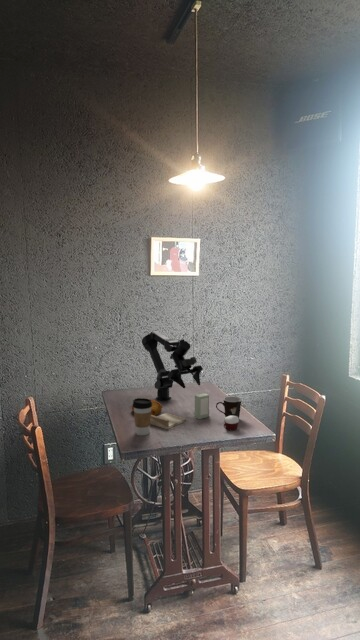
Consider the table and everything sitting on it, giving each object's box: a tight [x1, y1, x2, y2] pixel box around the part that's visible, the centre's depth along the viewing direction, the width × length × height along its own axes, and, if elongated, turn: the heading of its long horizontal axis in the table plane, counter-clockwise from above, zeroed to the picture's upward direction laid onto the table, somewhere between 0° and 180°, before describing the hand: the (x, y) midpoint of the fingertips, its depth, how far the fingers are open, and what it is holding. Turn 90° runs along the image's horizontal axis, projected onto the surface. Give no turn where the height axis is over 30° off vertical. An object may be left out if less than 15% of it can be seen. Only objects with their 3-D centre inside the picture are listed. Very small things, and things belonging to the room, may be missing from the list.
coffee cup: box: [132, 397, 152, 436], centre depth 186 cm, size 8×8×15 cm
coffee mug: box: [215, 396, 242, 419], centre depth 203 cm, size 12×9×10 cm
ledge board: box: [150, 412, 187, 430], centre depth 200 cm, size 14×13×4 cm
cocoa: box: [223, 400, 242, 432], centre depth 190 cm, size 10×6×12 cm, turn 103°
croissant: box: [131, 397, 163, 416], centre depth 213 cm, size 14×16×8 cm
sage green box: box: [194, 392, 210, 420], centre depth 206 cm, size 4×6×11 cm, turn 125°
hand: (192, 386), depth 211 cm, fingers open, 9 cm apart
